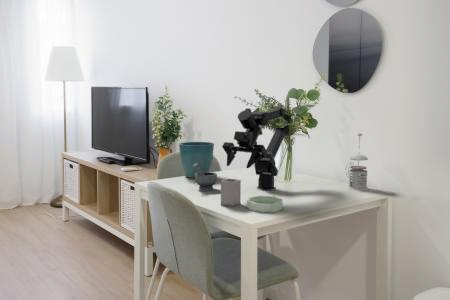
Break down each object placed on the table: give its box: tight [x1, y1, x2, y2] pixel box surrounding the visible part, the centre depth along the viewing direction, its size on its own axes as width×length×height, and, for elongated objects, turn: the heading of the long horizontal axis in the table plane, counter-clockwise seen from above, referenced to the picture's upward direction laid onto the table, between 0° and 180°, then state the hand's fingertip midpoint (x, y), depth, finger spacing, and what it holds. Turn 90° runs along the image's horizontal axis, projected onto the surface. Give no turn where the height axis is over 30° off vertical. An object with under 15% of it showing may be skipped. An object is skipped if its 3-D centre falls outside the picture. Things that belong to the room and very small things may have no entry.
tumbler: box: [220, 178, 242, 208], centre depth 175 cm, size 6×6×10 cm
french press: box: [345, 133, 369, 192], centre depth 204 cm, size 10×12×25 cm
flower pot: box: [178, 141, 215, 179], centre depth 233 cm, size 18×18×17 cm
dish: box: [246, 195, 284, 213], centre depth 171 cm, size 13×13×3 cm
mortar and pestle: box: [193, 163, 218, 192], centre depth 202 cm, size 11×9×12 cm
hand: (237, 166), depth 182 cm, fingers open, 9 cm apart
